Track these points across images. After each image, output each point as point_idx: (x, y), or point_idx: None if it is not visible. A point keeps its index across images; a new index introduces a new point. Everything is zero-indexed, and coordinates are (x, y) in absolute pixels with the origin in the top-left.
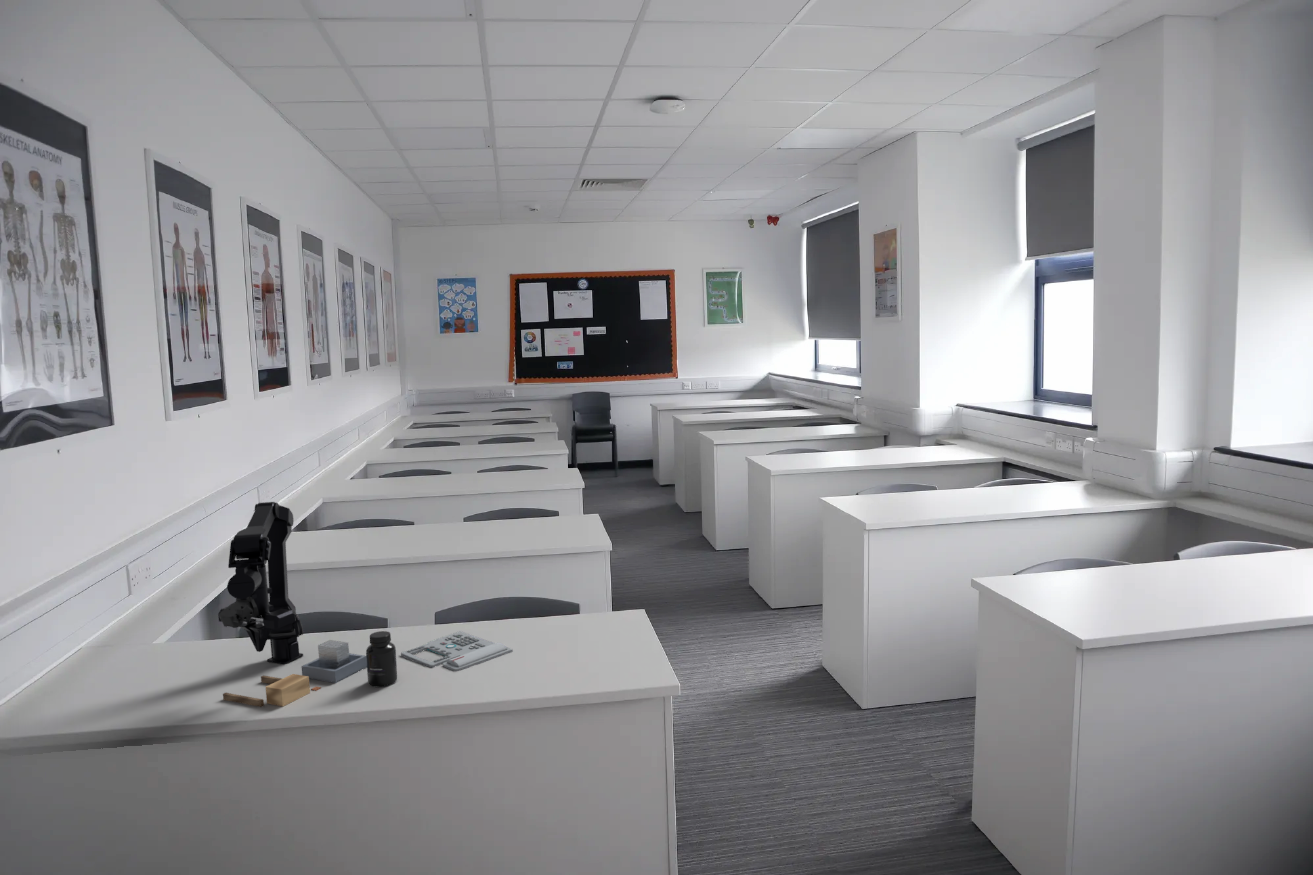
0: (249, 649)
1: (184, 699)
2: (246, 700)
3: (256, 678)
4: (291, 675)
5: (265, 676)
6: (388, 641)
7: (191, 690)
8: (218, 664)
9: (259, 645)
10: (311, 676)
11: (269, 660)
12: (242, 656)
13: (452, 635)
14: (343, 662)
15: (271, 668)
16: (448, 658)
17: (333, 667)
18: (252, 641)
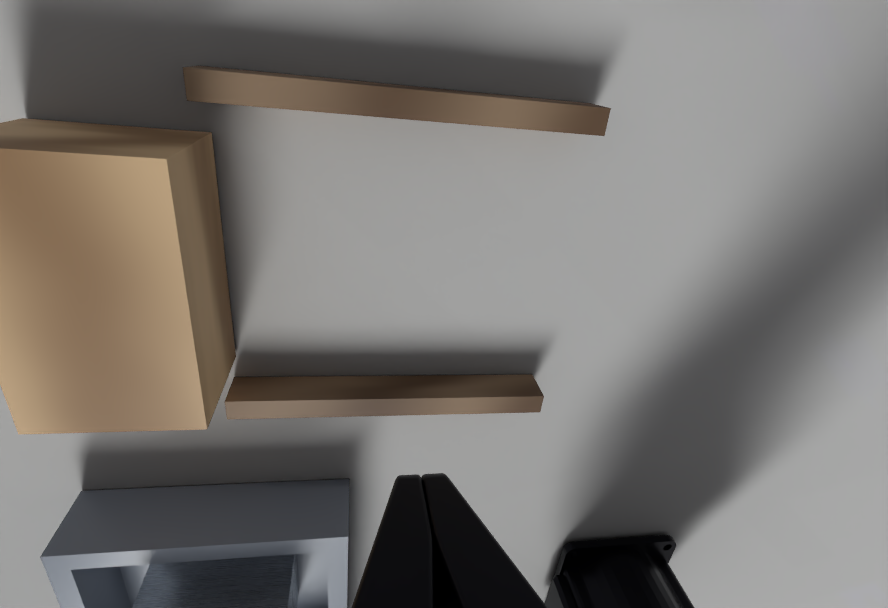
0: (816, 576)
1: (868, 40)
2: (357, 82)
3: (597, 402)
4: (186, 406)
5: (516, 405)
6: None
7: (883, 176)
8: (880, 451)
9: (371, 558)
10: (275, 494)
11: (658, 540)
12: (811, 531)
13: None
14: None
15: (601, 497)
16: None
17: (177, 587)
18: (521, 596)
